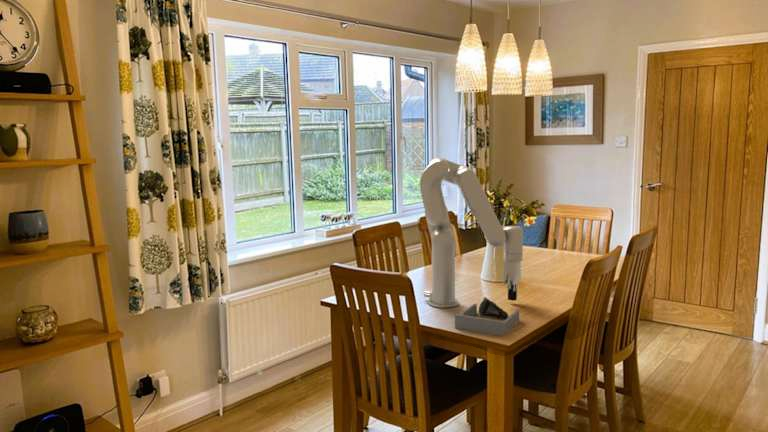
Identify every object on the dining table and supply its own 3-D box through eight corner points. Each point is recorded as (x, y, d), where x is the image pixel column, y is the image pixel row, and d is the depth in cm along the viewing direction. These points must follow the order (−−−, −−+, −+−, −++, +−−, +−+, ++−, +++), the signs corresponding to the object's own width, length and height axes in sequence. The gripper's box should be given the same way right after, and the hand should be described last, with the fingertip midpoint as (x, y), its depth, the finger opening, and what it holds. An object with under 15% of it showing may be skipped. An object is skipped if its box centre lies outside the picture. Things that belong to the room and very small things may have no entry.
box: (454, 327, 210) (454, 314, 209) (474, 313, 226) (474, 300, 225) (502, 336, 201) (502, 322, 200) (519, 320, 217) (519, 307, 216)
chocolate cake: (515, 317, 222) (497, 292, 227) (510, 317, 216) (491, 291, 221) (496, 331, 225) (479, 306, 230) (490, 331, 219) (472, 306, 224)
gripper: (509, 251, 243) (509, 294, 246) (498, 259, 230) (497, 303, 233) (527, 253, 239) (526, 296, 242) (516, 260, 227) (515, 306, 229)
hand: (512, 299), depth 238 cm, fingers closed
